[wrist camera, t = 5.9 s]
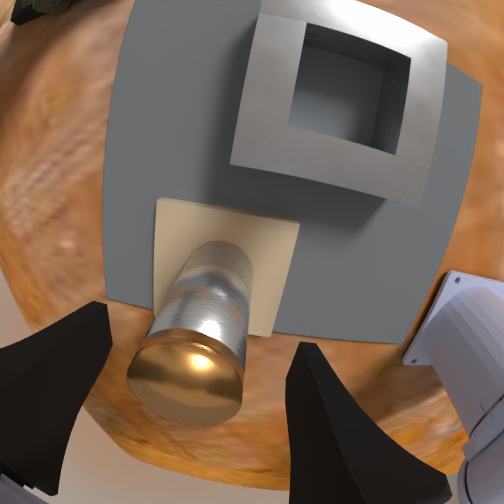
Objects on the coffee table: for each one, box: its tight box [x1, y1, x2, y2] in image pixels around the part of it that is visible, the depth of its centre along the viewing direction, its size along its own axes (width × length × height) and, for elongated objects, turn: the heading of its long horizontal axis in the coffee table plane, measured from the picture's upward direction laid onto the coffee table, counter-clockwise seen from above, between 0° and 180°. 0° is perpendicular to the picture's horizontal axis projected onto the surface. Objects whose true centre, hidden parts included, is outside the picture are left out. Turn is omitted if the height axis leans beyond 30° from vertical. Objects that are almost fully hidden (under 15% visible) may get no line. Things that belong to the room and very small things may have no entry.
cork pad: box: [154, 197, 300, 337], centre depth 15 cm, size 7×7×1 cm
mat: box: [103, 0, 482, 344], centre depth 13 cm, size 20×18×1 cm
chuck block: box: [230, 0, 447, 208], centre depth 10 cm, size 8×8×3 cm
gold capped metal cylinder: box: [127, 241, 253, 426], centre depth 11 cm, size 3×3×8 cm
